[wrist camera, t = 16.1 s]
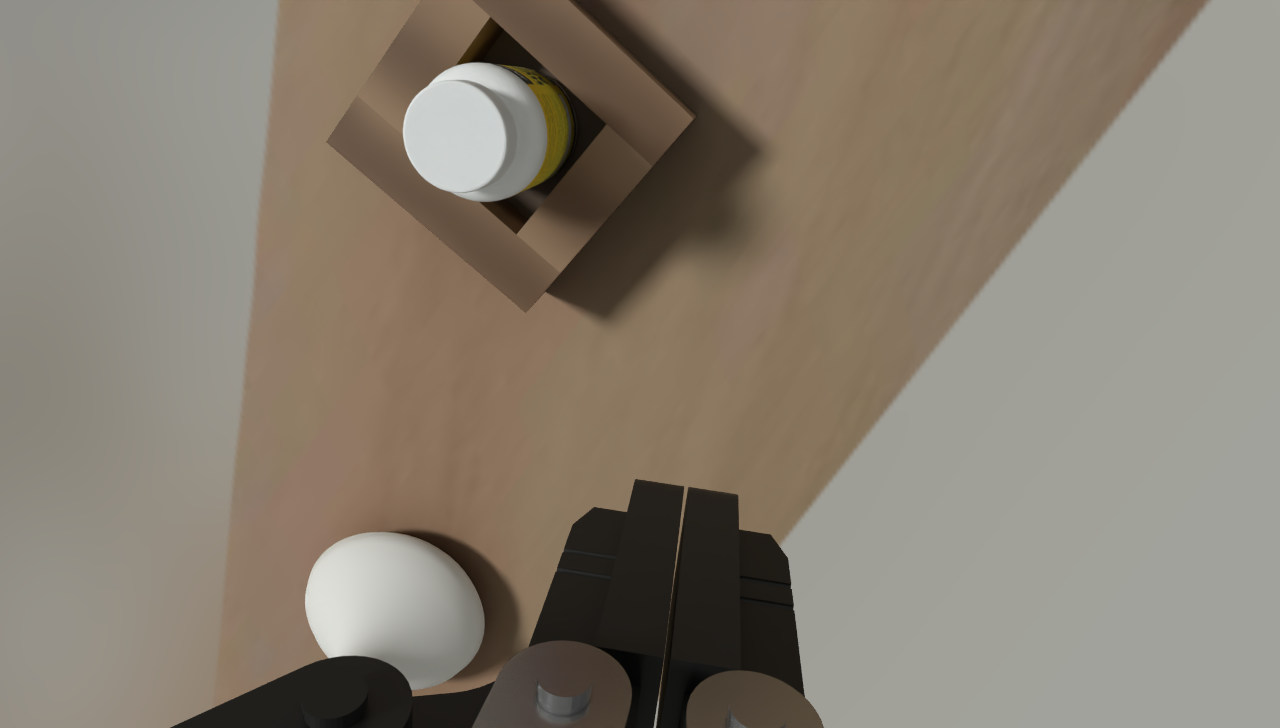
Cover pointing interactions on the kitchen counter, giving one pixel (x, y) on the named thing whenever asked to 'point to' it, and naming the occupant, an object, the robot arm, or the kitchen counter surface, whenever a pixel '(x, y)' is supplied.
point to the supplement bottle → (489, 130)
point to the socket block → (555, 209)
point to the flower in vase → (395, 606)
